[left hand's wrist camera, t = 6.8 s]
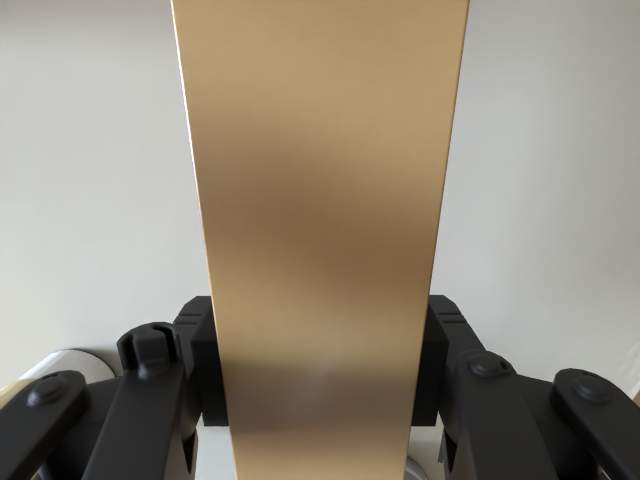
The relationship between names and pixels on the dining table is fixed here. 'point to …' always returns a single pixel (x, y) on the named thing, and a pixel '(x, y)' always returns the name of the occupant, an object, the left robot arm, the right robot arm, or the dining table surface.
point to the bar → (320, 217)
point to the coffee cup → (59, 362)
